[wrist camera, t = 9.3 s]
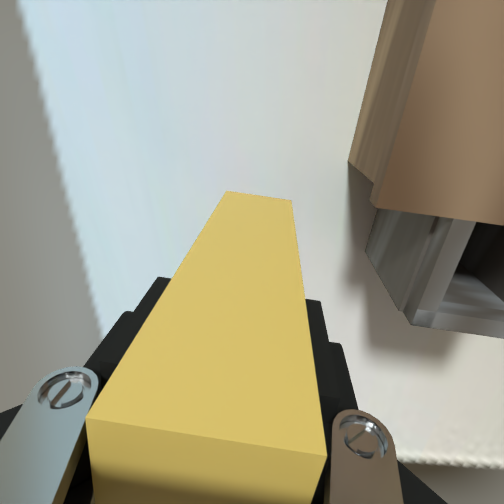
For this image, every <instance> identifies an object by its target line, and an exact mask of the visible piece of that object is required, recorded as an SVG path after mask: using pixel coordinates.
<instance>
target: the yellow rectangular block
mask: <svg viewBox="0 0 504 504" xmlns="http://www.w3.org/2000/svg"><path fill="white" fill-rule="evenodd" d="M85 420H86V429H87V438H88V446H89V455H90V464H91V472H92V481H93V490H94V498H95V504H311V501H312V498H313V495H314V493H315V490H316V487H317V484H318V481H319V478H320V475H321V473H322V470H323V467H324V464H325V461H326V458H327V451H326V444H325V436H324V429H323V422H322V415H321V408H320V401H319V394H318V387H317V380H316V373H315V365H314V358H313V351H312V344H311V337H310V330H309V323H308V316H307V309H306V302H305V294H304V287H303V280H302V273H301V266H300V259H299V252H298V245H297V238H296V231H295V223H294V216H293V209H292V202H291V200H285V199H279V198H272V197H265V196H258V195H252V194H245V193H238V192H231V191H226V192H225V194H224V196H223V197H222V199H221V201H220V202H219V204H218V205H217V207H216V209H215V210H214V212H213V213H212V215H211V217H210V218H209V220H208V221H207V223H206V225H205V226H204V228H203V229H202V231H201V233H200V234H199V236H198V237H197V239H196V241H195V242H194V244H193V245H192V247H191V249H190V250H189V252H188V253H187V255H186V257H185V258H184V260H183V261H182V263H181V265H180V266H179V268H178V269H177V271H176V273H175V274H174V276H173V277H172V279H171V281H170V282H169V284H168V286H167V287H166V289H165V290H164V292H163V294H162V295H161V297H160V298H159V300H158V302H157V303H156V305H155V306H154V308H153V310H152V311H151V313H150V314H149V316H148V318H147V319H146V321H145V322H144V324H143V326H142V327H141V329H140V330H139V332H138V334H137V335H136V337H135V338H134V340H133V342H132V343H131V345H130V346H129V348H128V350H127V351H126V353H125V354H124V356H123V358H122V359H121V361H120V362H119V364H118V366H117V367H116V369H115V371H114V372H113V374H112V375H111V377H110V379H109V380H108V382H107V383H106V385H105V387H104V388H103V390H102V391H101V393H100V395H99V396H98V398H97V399H96V401H95V403H94V404H93V406H92V407H91V409H90V411H89V412H88V414H87V415H86V417H85Z"/></svg>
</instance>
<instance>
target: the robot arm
mask: <svg viewBox="0 0 504 504" xmlns="http://www.w3.org/2000/svg"><path fill="white" fill-rule="evenodd" d="M170 281H171V278H164V277H158V278H157V279H156V280H155V282H154V283H153V284H152V286H151V287H150V289H149V290H148V292H147V293H146V294H145V296H144V297H143V299H142V300H141V302H140V303H139V305H138V306H137V307H136V309H135V310H134V312H131V311H125V312H124V313H123V314H122V315H121V316H120V318H119V319H118V321H117V322H116V323H115V325H114V326H113V327H112V329H111V330H110V331H109V333H108V334H107V335H106V337H105V338H104V339H103V341H102V342H101V344H100V345H99V346H98V348H97V349H96V350H95V352H94V353H93V354H92V356H91V357H90V358H89V360H88V361H87V362H86V364H85V365H84V366H83V367H77V366H76V367H66V368H63V369H60V370H56V371H54V372H52V373H50V374H48V375H47V376H45V377H44V378H42V379H41V380H40V381H39V382H38V383H37V384H36V385H35V387H34V388H33V389H32V391H31V392H30V394H29V395H28V397H27V399H26V400H25V402H24V404H21V405H19V406H17V407H14V408H12V409H9V410H7V411H4V412H2V413H0V504H95V498H94V490H93V481H92V472H91V464H90V455H89V446H88V438H87V429H86V420H85V417H86V415H87V414H88V412H89V411H90V409H91V407H92V406H93V404H94V403H95V401H96V399H97V398H98V396H99V395H100V393H101V391H102V390H103V388H104V387H105V385H106V383H107V382H108V380H109V379H110V377H111V375H112V374H113V372H114V371H115V369H116V367H117V366H118V364H119V362H120V361H121V359H122V358H123V356H124V354H125V353H126V351H127V350H128V348H129V346H130V345H131V343H132V342H133V340H134V338H135V337H136V335H137V334H138V332H139V330H140V329H141V327H142V326H143V324H144V322H145V321H146V319H147V318H148V316H149V314H150V313H151V311H152V310H153V308H154V306H155V305H156V303H157V302H158V300H159V298H160V297H161V295H162V294H163V292H164V290H165V289H166V287H167V286H168V284H169V282H170ZM305 302H306V309H307V316H308V323H309V330H310V337H311V344H312V351H313V358H314V365H315V373H316V380H317V387H318V394H319V401H320V408H321V415H322V422H323V429H324V436H325V444H326V451H327V458H326V461H325V464H324V467H323V470H322V473H321V475H320V478H319V481H318V484H317V487H316V490H315V493H314V495H313V498H312V501H311V504H447V503H446V502H445V501H444V500H443V499H442V498H441V497H439V496H438V495H437V494H436V493H435V492H434V491H432V490H431V489H430V488H429V487H428V486H427V485H426V484H424V483H423V482H422V481H421V480H420V479H419V478H418V477H416V476H415V475H414V474H413V473H412V472H411V471H409V470H408V469H407V468H406V467H405V466H404V465H403V464H401V463H400V462H399V461H398V460H397V458H396V451H395V445H394V442H393V439H392V436H391V434H390V433H389V431H388V430H387V428H386V427H385V426H384V425H383V424H382V423H381V422H380V421H379V420H378V419H376V418H375V417H373V416H372V415H370V414H368V413H366V412H363V411H360V410H358V406H357V402H356V398H355V394H354V390H353V386H352V383H351V379H350V375H349V371H348V367H347V363H346V359H345V356H344V352H343V348H342V345H341V344H340V343H334V342H329V339H328V335H327V330H326V325H325V320H324V316H323V311H322V306H321V302H320V301H316V300H310V299H305Z"/></svg>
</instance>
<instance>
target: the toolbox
mask: <svg viewBox="0 0 504 504" xmlns="http://www.w3.org/2000/svg"><path fill="white" fill-rule="evenodd" d="M424 3H425V0H388V2H387V6H386V10H385V14H384V18H383V22H382V26H381V30H380V34H379V38H378V42H377V46H376V50H375V54H374V58H373V62H372V66H371V70H370V74H369V78H368V82H367V86H366V90H365V94H364V98H363V102H362V106H361V110H360V114H359V118H358V122H357V126H356V130H355V134H354V138H353V142H352V146H351V150H350V154H349V158H348V162H350V163H351V164H352V165H353V166H354V167H355V168H356V169H358V170H359V171H360V172H361V173H362V174H363V175H365V176H366V177H367V178H368V179H369V180H370V181H372V182H373V183H374V181H375V177H376V174H377V170H378V167H379V163H380V160H381V156H382V153H383V149H384V145H385V142H386V138H387V135H388V131H389V128H390V124H391V120H392V117H393V113H394V110H395V106H396V103H397V99H398V96H399V92H400V88H401V85H402V81H403V78H404V74H405V71H406V67H407V63H408V60H409V56H410V53H411V49H412V46H413V42H414V38H415V35H416V31H417V28H418V24H419V21H420V17H421V14H422V10H423V6H424ZM438 219H439V216H432V215H425V214H417V213H410V212H403V211H396V210H389V209H382V208H378V211H377V214H376V217H375V221H374V224H373V227H372V230H371V234H370V237H369V240H368V243H367V247H366V250H365V252H366V254H367V256H368V257H369V259H370V261H371V263H372V264H373V266H374V268H375V270H376V271H377V273H378V275H379V277H380V279H381V280H382V282H383V284H384V286H385V287H386V289H387V291H388V293H389V294H390V296H391V298H392V300H393V301H394V303H395V305H396V307H397V308H398V310H399V311H404V308H405V305H406V303H407V300H408V298H409V295H410V292H411V290H412V287H413V285H414V282H415V279H416V277H417V274H418V272H419V269H420V266H421V264H422V261H423V259H424V256H425V253H426V251H427V248H428V245H429V243H430V240H431V238H432V235H433V232H434V230H435V227H436V225H437V222H438ZM442 301H443V302H450V303H457V304H464V305H471V306H478V307H485V308H491V309H498V310H504V225H496V224H489V223H482V222H476V224H475V226H474V229H473V231H472V233H471V235H470V238H469V240H468V242H467V245H466V247H465V249H464V251H463V254H462V256H461V258H460V261H459V263H458V265H457V267H456V270H455V272H454V274H453V277H452V279H451V281H450V283H449V286H448V288H447V290H446V293H445V295H444V297H443V300H442Z"/></svg>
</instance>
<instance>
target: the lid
mask: <svg viewBox="0 0 504 504" xmlns="http://www.w3.org/2000/svg"><path fill="white" fill-rule="evenodd" d="M369 201H370V202H371V203H372V204H373V205H374V206H375V208H382V209H389V210H396V211H403V212H410V213H417V214H425V215H432V216H439V219H438V222H437V225H436V227H435V230H434V232H433V235H432V238H431V240H430V243H429V245H428V248H427V251H426V253H425V256H424V259H423V261H422V264H421V266H420V269H419V272H418V274H417V277H416V279H415V282H414V285H413V287H412V290H411V292H410V295H409V298H408V300H407V303H406V305H405V308H404V311H403V312H404V314H405V316H406V317H407V319H408V321H409V323H410V324H411V325H414V326H421V327H428V328H435V329H442V330H448V331H455V332H462V333H469V334H476V335H482V336H489V337H496V338H503V339H504V310H498V309H491V308H485V307H478V306H471V305H464V304H457V303H450V302H443V301H442V300H443V297H444V295H445V293H446V290H447V288H448V286H449V283H450V281H451V279H452V277H453V274H454V272H455V270H456V267H457V265H458V263H459V261H460V258H461V256H462V254H463V251H464V249H465V247H466V245H467V242H468V240H469V238H470V235H471V233H472V231H473V229H474V226H475V224H476V222H482V223H489V224H496V225H504V0H425V3H424V6H423V10H422V14H421V17H420V21H419V24H418V28H417V31H416V35H415V38H414V42H413V46H412V49H411V53H410V56H409V60H408V63H407V67H406V71H405V74H404V78H403V81H402V85H401V88H400V92H399V96H398V99H397V103H396V106H395V110H394V113H393V117H392V120H391V124H390V128H389V131H388V135H387V138H386V142H385V145H384V149H383V153H382V156H381V160H380V163H379V167H378V170H377V174H376V177H375V181H374V185H373V188H372V192H371V195H370V199H369Z"/></svg>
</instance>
